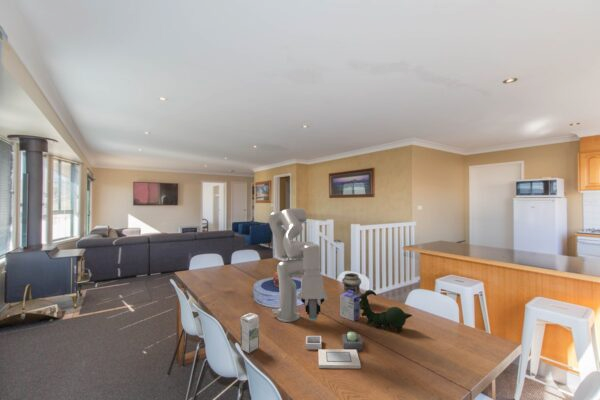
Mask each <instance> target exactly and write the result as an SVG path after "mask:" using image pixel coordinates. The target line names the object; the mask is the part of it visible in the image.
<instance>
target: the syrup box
mask: <svg viewBox="0 0 600 400" xmlns="http://www.w3.org/2000/svg"><path fill="white" fill-rule="evenodd" d="M259 317H260V316H259V315H257V314H256V313H252V312H249V313H247V314H244V315H242V316H240V350H242V351H244V352H245V353H248V354H250V353H252V352H254V351H255V350H257V349H259V348H260V347H259V346H260V337H259V335H260V327H259V326H260V323H259V322H260V321H259Z"/></svg>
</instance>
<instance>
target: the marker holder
mask: <svg viewBox="0 0 600 400" xmlns="http://www.w3.org/2000/svg"><path fill="white" fill-rule="evenodd" d="M318 349H323V348H322V336H321V335H306V337H305V350H318Z"/></svg>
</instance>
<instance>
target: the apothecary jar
mask: <svg viewBox="0 0 600 400" xmlns="http://www.w3.org/2000/svg"><path fill="white" fill-rule="evenodd" d="M341 281H342V284H343V291H342V293H341V294H343V293H348V290H351V291H354V293H353V295H356V296H359V300H361V298H360V296H361V294H363V293H362V292H361V289H360V288H361V287H360V285H361V284H362V279H361V278H360V277H359V275H358V274H357V273H355V272H354V273H353V272H349V273H345V274H344V277H343V278H342V279H341ZM349 293H352V292H349Z"/></svg>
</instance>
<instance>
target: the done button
mask: <svg viewBox="0 0 600 400" xmlns="http://www.w3.org/2000/svg"><path fill="white" fill-rule="evenodd" d="M346 334H347V341H357V337H356V334H357V333H356V332H355V331H348V332H347V333H346Z"/></svg>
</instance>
